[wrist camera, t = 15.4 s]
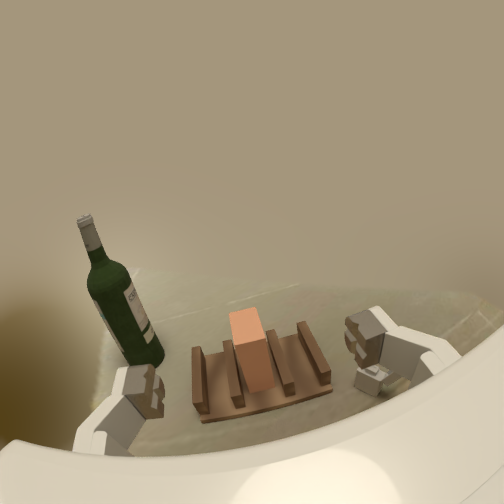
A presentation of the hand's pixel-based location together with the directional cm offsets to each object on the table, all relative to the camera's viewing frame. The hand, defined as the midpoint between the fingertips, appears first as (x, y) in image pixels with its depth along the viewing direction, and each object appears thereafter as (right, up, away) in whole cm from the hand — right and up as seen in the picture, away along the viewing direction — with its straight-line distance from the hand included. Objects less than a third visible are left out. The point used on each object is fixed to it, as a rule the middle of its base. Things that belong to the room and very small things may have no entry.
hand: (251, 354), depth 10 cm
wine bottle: (-21, -17, +38) cm, 47 cm away
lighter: (+18, -17, +23) cm, 34 cm away
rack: (+1, -16, +31) cm, 35 cm away
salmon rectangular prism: (+1, -16, +30) cm, 34 cm away
